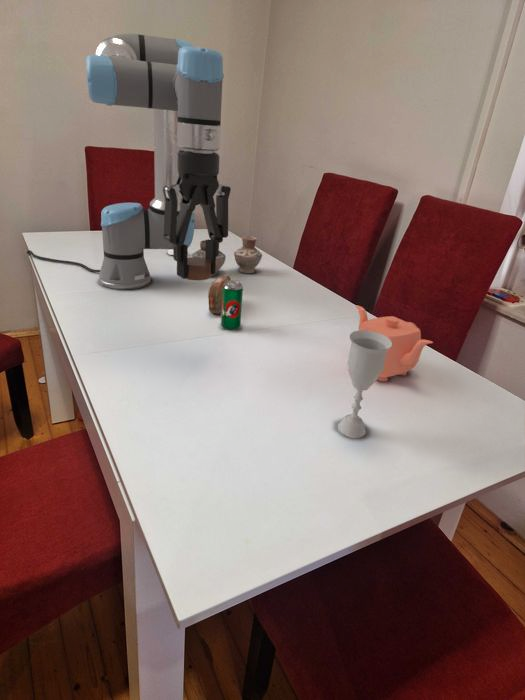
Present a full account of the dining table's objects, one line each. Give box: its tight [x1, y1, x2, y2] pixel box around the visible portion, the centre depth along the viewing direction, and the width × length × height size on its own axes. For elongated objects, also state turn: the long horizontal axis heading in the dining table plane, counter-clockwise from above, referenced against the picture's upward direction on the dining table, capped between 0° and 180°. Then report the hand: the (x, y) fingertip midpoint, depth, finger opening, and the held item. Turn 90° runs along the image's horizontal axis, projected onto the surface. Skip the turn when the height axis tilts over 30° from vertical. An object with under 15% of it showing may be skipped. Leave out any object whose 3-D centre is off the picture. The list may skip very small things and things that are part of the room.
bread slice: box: [207, 275, 231, 315], centre depth 126 cm, size 15×3×8 cm, turn 168°
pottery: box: [191, 235, 263, 277], centre depth 156 cm, size 11×25×12 cm, turn 116°
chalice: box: [337, 330, 392, 439], centre depth 78 cm, size 7×7×18 cm
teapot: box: [355, 305, 434, 382], centre depth 101 cm, size 15×17×13 cm
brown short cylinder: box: [186, 256, 212, 281], centre depth 91 cm, size 6×6×3 cm
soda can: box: [220, 279, 244, 331], centre depth 115 cm, size 5×5×12 cm
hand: (196, 274), depth 92 cm, fingers closed on brown short cylinder, 6 cm apart
